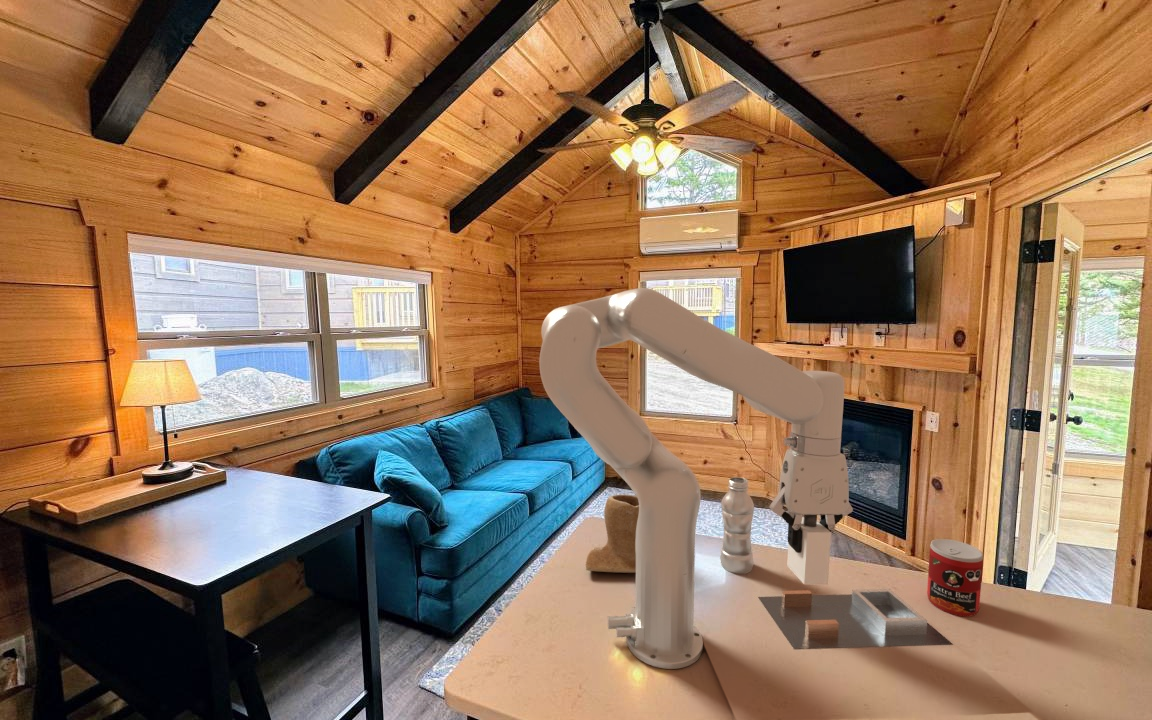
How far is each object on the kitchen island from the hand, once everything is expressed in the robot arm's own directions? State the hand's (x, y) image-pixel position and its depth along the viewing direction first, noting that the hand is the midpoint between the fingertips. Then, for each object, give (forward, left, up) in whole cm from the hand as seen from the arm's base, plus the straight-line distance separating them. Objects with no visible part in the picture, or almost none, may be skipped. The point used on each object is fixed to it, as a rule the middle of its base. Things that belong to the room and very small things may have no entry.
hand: (808, 547), depth 81 cm
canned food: (+31, +5, -15) cm, 34 cm away
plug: (0, 0, -5) cm, 5 cm away
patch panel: (+8, 0, -14) cm, 16 cm away
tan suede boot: (-29, +22, -15) cm, 40 cm away
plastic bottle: (-5, +18, -15) cm, 24 cm away
